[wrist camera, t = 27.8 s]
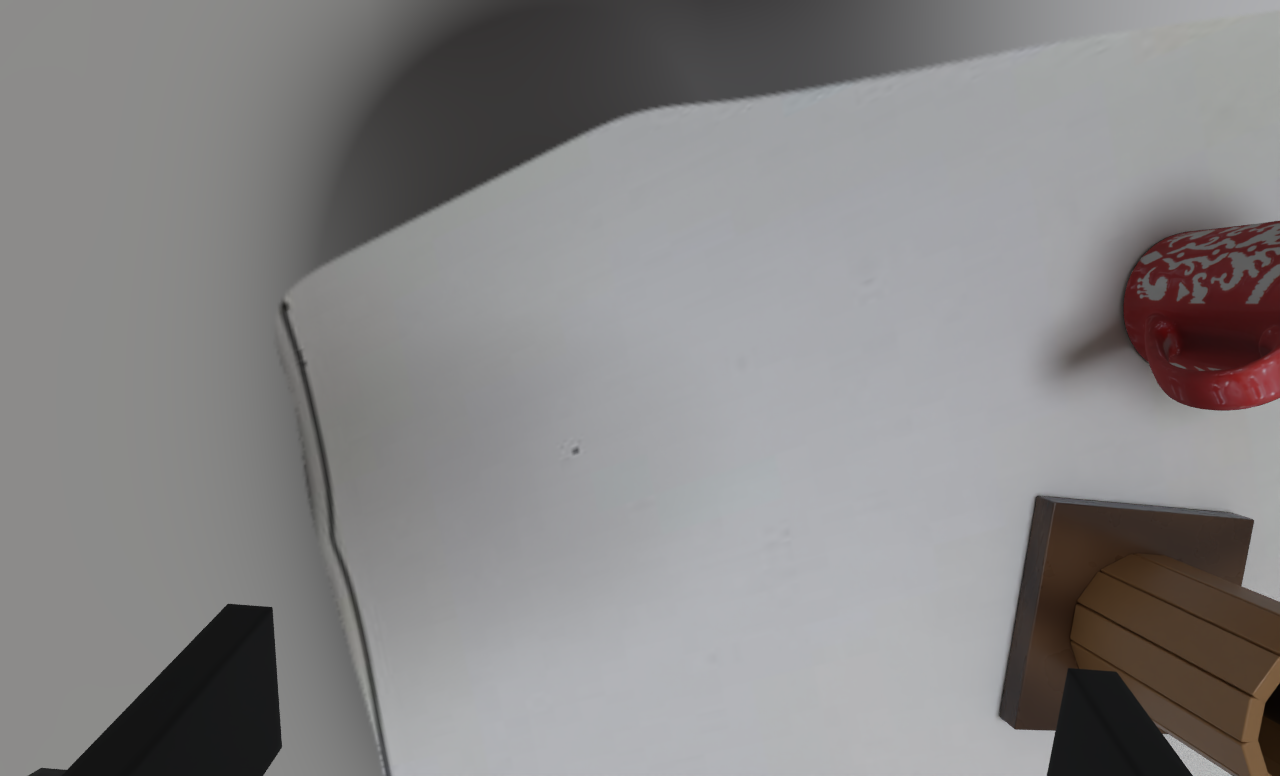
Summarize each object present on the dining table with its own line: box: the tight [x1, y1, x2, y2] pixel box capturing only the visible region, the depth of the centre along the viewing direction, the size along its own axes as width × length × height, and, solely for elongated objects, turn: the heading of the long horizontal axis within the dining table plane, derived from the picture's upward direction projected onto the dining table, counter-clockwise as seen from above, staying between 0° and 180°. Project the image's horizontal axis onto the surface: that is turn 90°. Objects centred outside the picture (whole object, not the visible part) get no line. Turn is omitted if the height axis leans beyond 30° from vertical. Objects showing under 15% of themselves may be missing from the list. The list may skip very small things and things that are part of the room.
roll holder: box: [1000, 496, 1280, 734], centre depth 44 cm, size 12×12×14 cm
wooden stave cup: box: [1070, 553, 1280, 776], centre depth 45 cm, size 8×8×11 cm
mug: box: [1123, 221, 1280, 410], centre depth 43 cm, size 13×9×14 cm
